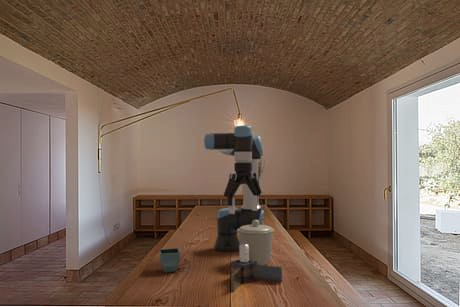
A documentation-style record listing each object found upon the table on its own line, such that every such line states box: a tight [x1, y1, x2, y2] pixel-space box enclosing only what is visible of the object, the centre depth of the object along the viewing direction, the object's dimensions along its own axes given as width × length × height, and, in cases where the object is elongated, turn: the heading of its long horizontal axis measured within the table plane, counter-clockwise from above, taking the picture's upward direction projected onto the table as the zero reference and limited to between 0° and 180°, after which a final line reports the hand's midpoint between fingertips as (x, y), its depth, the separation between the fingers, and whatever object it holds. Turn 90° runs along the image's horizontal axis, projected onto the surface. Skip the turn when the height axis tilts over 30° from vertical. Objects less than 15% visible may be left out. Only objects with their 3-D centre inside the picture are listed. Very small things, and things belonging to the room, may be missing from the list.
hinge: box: [230, 258, 283, 292], centre depth 141 cm, size 22×18×7 cm
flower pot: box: [158, 247, 181, 273], centre depth 158 cm, size 9×9×9 cm
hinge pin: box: [238, 244, 249, 264], centre depth 147 cm, size 4×4×14 cm
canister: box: [237, 220, 275, 266], centre depth 169 cm, size 18×18×21 cm
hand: (243, 212), depth 148 cm, fingers open, 13 cm apart
